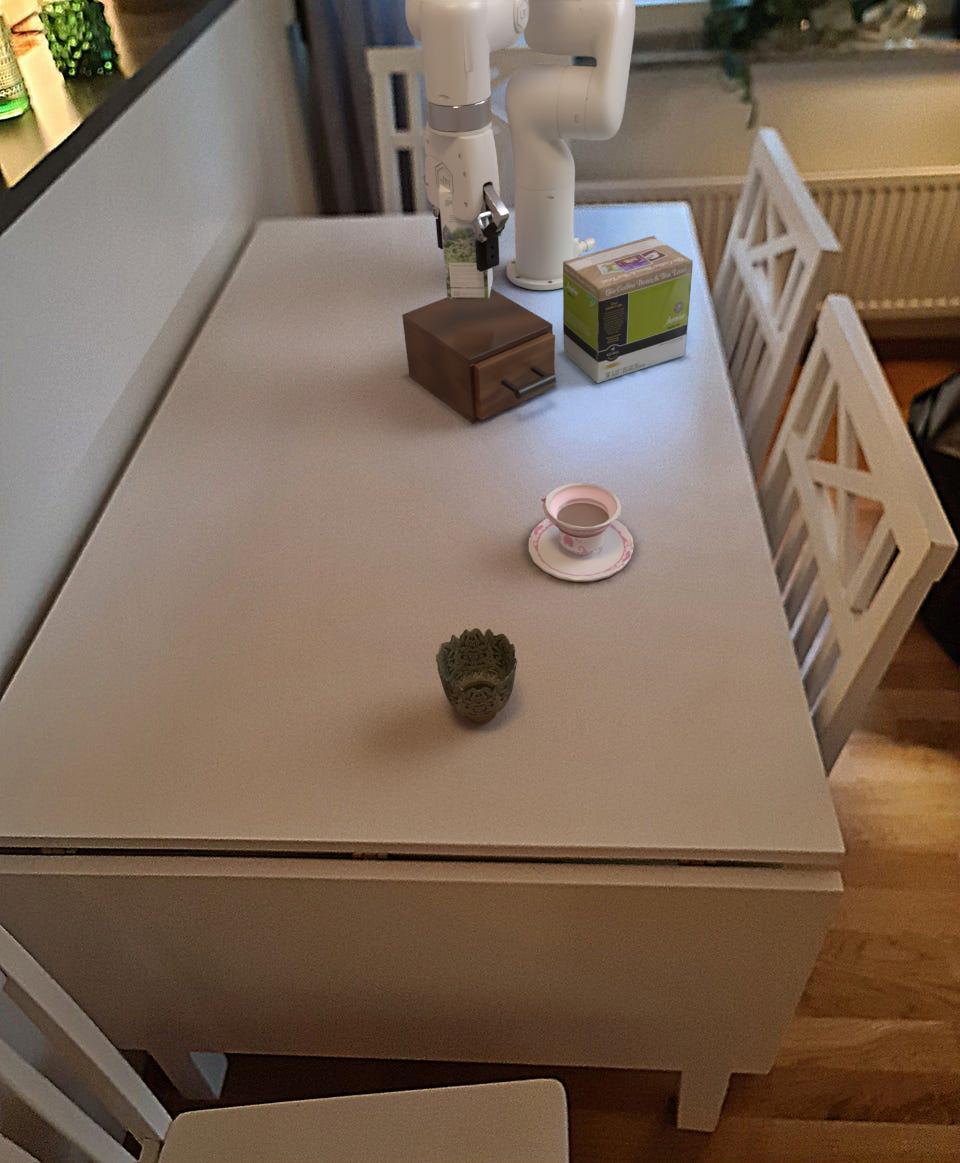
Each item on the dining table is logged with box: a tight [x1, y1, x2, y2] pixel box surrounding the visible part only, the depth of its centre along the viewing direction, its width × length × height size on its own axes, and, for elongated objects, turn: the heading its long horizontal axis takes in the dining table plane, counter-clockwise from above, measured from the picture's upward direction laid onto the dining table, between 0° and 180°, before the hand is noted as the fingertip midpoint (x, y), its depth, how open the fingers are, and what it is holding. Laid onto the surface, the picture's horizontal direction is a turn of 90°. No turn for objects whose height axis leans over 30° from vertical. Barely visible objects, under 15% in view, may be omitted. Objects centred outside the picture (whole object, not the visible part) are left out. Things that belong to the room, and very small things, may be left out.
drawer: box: [473, 332, 557, 421], centre depth 129 cm, size 19×13×8 cm, turn 36°
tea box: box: [562, 235, 694, 384], centre depth 133 cm, size 15×10×15 cm
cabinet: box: [401, 288, 554, 424], centre depth 132 cm, size 16×14×10 cm
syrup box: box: [439, 184, 494, 299], centre depth 121 cm, size 6×6×14 cm
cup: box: [435, 627, 518, 724], centre depth 89 cm, size 8×7×8 cm
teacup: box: [528, 482, 635, 583], centre depth 106 cm, size 12×12×6 cm
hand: (468, 256), depth 123 cm, fingers closed on syrup box, 8 cm apart
